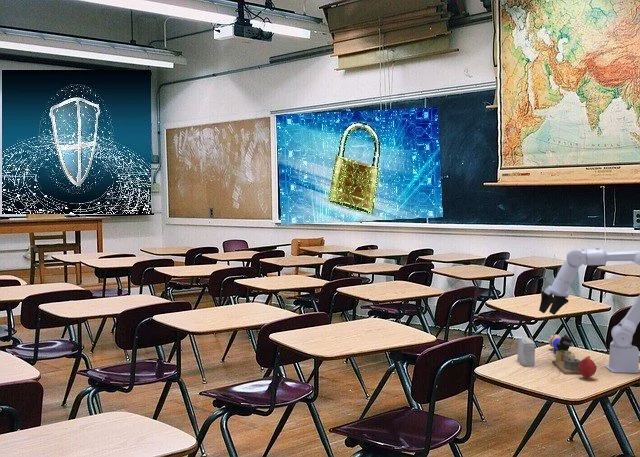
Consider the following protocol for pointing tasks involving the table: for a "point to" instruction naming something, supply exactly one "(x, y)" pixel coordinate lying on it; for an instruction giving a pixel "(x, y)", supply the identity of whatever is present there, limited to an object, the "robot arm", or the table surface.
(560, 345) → the character figurine
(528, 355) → the medicine box
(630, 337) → the robot arm
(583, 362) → the onion
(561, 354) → the golden octagonal nut
